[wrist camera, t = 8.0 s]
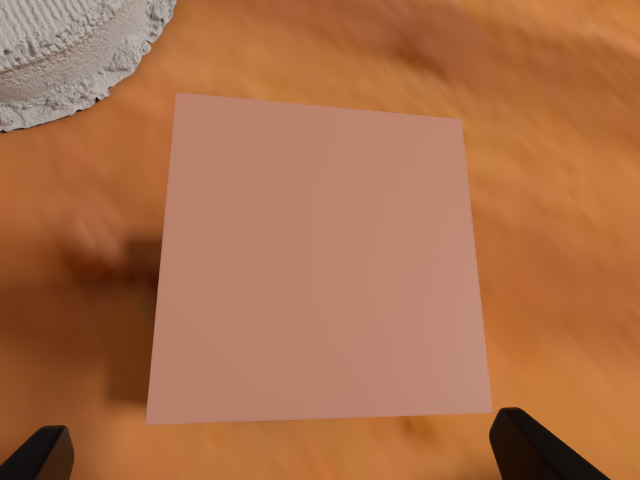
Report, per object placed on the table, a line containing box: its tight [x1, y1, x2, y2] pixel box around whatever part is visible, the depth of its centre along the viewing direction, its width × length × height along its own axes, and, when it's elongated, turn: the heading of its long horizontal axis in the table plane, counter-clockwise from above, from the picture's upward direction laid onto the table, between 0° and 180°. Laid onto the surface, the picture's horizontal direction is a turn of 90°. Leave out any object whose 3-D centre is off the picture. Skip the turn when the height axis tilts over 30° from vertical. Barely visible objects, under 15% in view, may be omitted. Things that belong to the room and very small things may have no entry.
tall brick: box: [145, 92, 493, 425], centre depth 12 cm, size 5×5×12 cm
